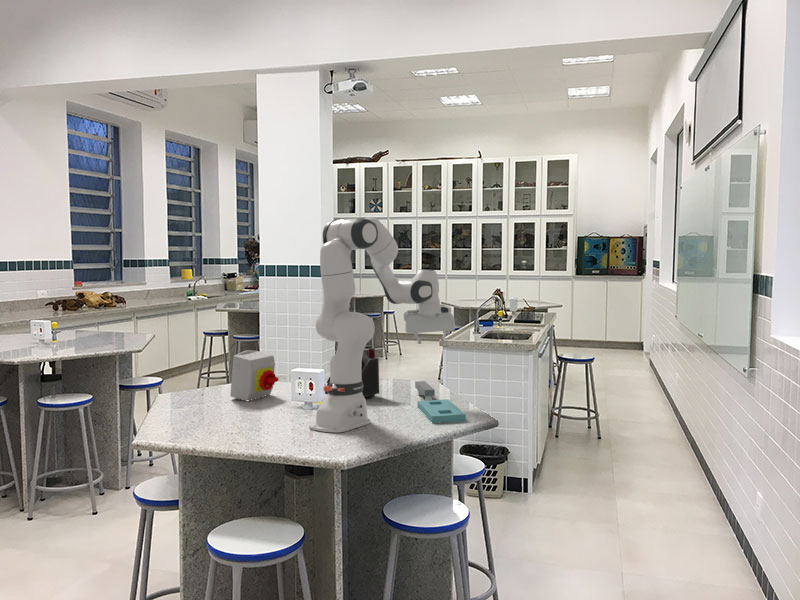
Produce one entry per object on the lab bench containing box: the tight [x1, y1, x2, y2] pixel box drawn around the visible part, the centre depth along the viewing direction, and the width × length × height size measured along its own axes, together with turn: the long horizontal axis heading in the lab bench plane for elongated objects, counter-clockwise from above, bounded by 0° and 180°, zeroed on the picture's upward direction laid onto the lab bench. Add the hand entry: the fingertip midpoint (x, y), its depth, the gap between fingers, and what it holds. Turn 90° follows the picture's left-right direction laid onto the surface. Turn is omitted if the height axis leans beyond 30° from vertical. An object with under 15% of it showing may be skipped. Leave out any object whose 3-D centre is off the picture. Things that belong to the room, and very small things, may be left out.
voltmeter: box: [324, 348, 380, 398], centre depth 264 cm, size 16×16×20 cm
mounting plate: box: [417, 398, 467, 424], centre depth 233 cm, size 24×12×2 cm, turn 11°
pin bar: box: [414, 380, 436, 401], centre depth 258 cm, size 18×4×6 cm, turn 11°
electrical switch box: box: [229, 349, 279, 401], centre depth 265 cm, size 15×15×20 cm
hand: (431, 342), depth 258 cm, fingers open, 8 cm apart
